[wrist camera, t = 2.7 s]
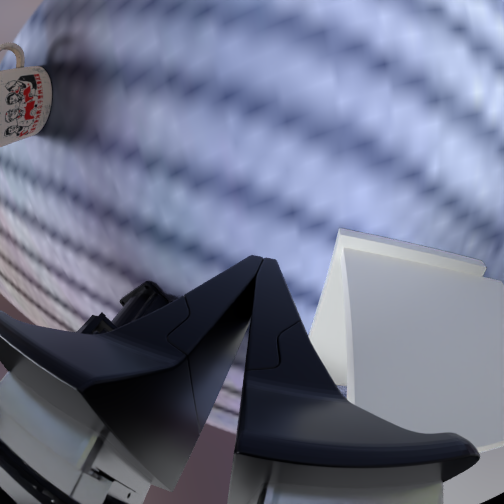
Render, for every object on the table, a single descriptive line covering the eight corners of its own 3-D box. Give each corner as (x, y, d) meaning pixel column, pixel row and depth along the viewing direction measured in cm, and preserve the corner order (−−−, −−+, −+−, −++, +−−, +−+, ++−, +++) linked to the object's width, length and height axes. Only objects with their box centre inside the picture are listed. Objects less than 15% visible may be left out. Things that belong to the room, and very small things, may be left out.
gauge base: (295, 370, 31) (270, 506, 17) (339, 227, 22) (350, 450, 7) (423, 384, 29) (435, 500, 14) (500, 265, 19) (577, 405, 5)
